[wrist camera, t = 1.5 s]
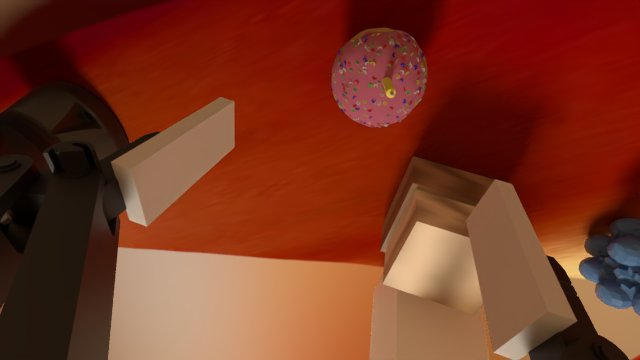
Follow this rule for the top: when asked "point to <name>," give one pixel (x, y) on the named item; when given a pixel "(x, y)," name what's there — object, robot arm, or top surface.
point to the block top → (434, 253)
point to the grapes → (615, 264)
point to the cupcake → (379, 76)
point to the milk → (423, 329)
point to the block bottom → (432, 190)
